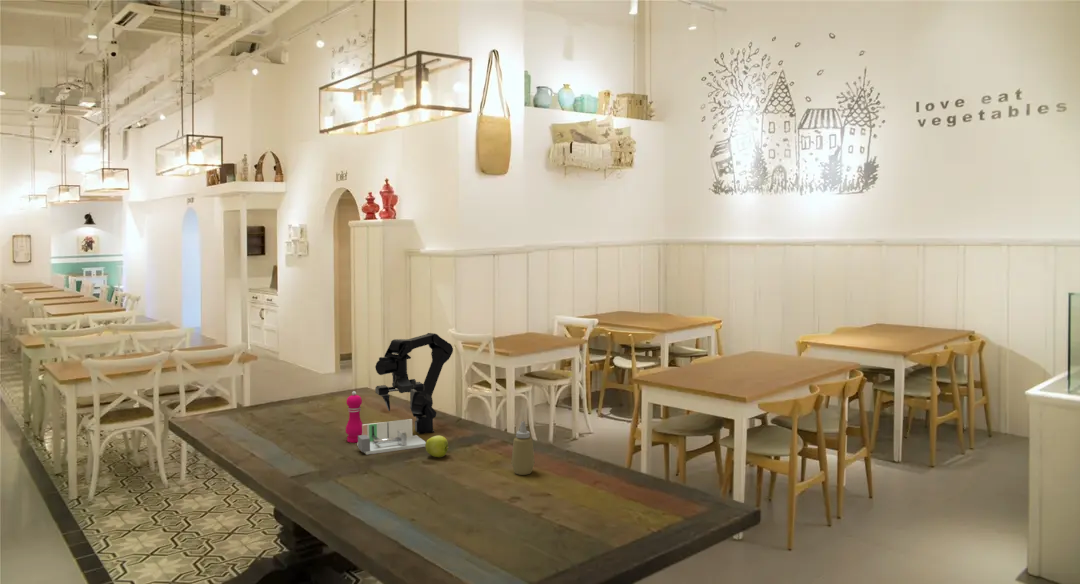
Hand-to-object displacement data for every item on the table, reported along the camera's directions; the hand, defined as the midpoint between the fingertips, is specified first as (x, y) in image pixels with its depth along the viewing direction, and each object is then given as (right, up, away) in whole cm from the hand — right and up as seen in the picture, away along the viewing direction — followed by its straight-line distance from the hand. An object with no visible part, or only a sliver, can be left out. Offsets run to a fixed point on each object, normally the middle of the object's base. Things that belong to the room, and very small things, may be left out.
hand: (400, 409), depth 310 cm
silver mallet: (-3, -11, -11) cm, 16 cm away
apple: (+18, -14, -23) cm, 33 cm away
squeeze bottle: (+50, -16, -42) cm, 67 cm away
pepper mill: (-18, -12, -1) cm, 22 cm away
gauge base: (-2, -13, -9) cm, 16 cm away
